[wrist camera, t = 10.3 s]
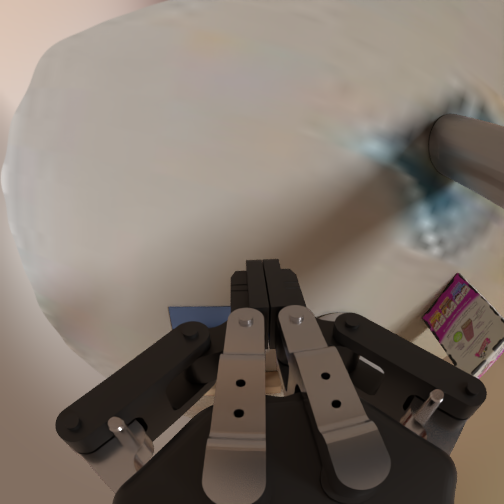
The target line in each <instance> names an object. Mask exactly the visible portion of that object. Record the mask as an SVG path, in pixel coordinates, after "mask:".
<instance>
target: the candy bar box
mask: <svg viewBox="0 0 504 504" xmlns="http://www.w3.org/2000/svg"><path fill="white" fill-rule="evenodd" d="M422 319H423V321H424V322H425V324H426V325H427V326H428V328H429V329H430V331H431V332H432V333H433V335H434V336H435V337H436V339H437V340H438V342H439V343H440V345H441V346H442V347H443V349H444V350H445V352H446V353H447V355H448V356H449V358H450V359H451V360H452V362H453V364H454V365H455V366H456V367H457V368H459V369H461V370H463V371H465V372H467V373H469V374H470V375H472V376H474V377H476V378H478V379H479V378H480V377H481V376H482V375H483V374H484V373H485V372H486V371H487V370H488V369H489V368H490V367H491V366H492V365H493V363H494V362H495V361H496V360H497V359H498V358H499V357H500V356H501V354H502V353H503V352H504V318H503V317H502V316H501V315H500V314H499V313H498V312H497V310H496V309H495V308H494V307H493V306H492V305H491V304H490V303H489V302H488V301H487V300H486V299H485V298H484V297H483V296H482V295H481V294H480V293H479V291H478V290H477V289H476V288H475V287H474V286H472V285H471V284H470V283H469V282H468V281H467V280H466V279H465V278H464V277H463V276H462V275H460V274H459V273H457V274H456V276H455V277H454V278H453V280H452V281H451V282H450V284H449V285H448V286H447V288H446V289H445V290H444V292H443V293H442V294H441V296H440V297H439V298H438V299H437V301H436V302H435V303H434V305H433V306H432V307H431V308H430V310H429V311H428V312H427V313H426V314H425V316H424V317H423V318H422Z"/></svg>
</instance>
